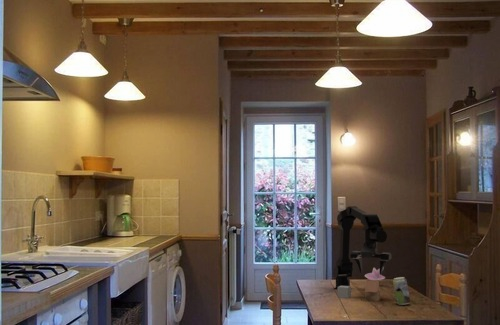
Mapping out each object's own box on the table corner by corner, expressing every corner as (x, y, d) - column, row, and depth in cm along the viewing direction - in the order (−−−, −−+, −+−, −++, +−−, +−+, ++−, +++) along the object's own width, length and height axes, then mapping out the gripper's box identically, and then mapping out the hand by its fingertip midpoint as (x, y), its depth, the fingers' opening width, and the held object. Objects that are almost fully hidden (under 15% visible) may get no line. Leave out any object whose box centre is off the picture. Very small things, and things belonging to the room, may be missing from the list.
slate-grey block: (337, 297, 268) (337, 287, 268) (341, 296, 272) (340, 285, 273) (347, 298, 265) (347, 287, 266) (351, 296, 270) (350, 286, 270)
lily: (364, 285, 311) (359, 271, 307) (382, 276, 312) (378, 262, 309) (374, 295, 299) (369, 281, 296) (393, 286, 301) (389, 271, 298)
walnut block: (364, 300, 260) (364, 292, 260) (367, 298, 265) (367, 290, 265) (377, 301, 257) (377, 292, 258) (380, 299, 263) (380, 290, 263)
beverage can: (411, 306, 245) (410, 278, 246) (393, 305, 247) (393, 278, 247) (409, 303, 251) (409, 276, 252) (392, 303, 253) (392, 276, 253)
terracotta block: (365, 291, 261) (365, 280, 261) (368, 290, 265) (368, 279, 265) (376, 292, 258) (375, 281, 259) (379, 291, 263) (378, 280, 263)
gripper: (346, 241, 264) (346, 274, 263) (385, 243, 255) (385, 277, 254) (353, 239, 274) (353, 271, 273) (391, 241, 265) (392, 274, 264)
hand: (370, 273), depth 266 cm, fingers open, 9 cm apart
